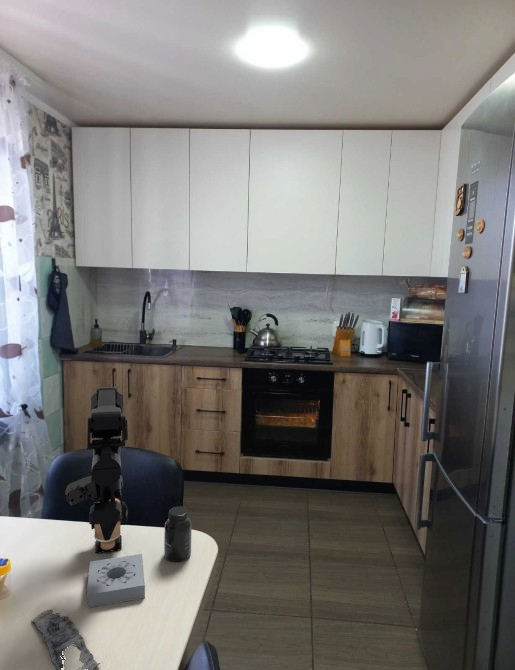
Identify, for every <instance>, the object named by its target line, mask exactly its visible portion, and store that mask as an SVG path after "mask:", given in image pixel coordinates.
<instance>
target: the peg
mask: <svg viewBox="0 0 515 670" xmlns="http://www.w3.org/2000/svg"><path fill="white" fill-rule="evenodd" d="M110 500H111V499H110ZM110 500H109V501H110ZM115 501H118V502H119V503H120V500H118V499H116V498H115ZM103 502H104V500H103ZM96 503H98V501H97V502H96ZM121 532H122V531H121V525H120V521H119V522H117V524H116V527H115V529H114V531H113V533H112V536H111V538H110V540H107V541H105V540H104V537H103V534H102V531H101V527H100V524H96V525H95V529H94V539H95V541H96V540H97V541H100V542H101V548H102V549H105V550H107V549H111V548H113V547H114V546H115V539H117V538H118V537H119V536H120V535H121V534H122V533H121Z"/></svg>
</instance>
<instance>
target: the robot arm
mask: <svg viewBox="0 0 515 670" xmlns="http://www.w3.org/2000/svg"><path fill="white" fill-rule="evenodd" d="M124 404H125V403H124V395H123V394H122V393H120V392H119V391H118V388H117V387H115V386H107V387H106V386H104V387H99V388H96V392H95V394H92V396H91V397H90V417H89V416H87V435H86V436H87V441H86V442H87V444H86V445H87V447H86V450H92V463H91V464H92V465H91V471H90V472H91V473H90V474H91V475H89V476H84V477H83V478H80V479H78V480H76V481H73V482H70V483H69V484H68V485H66V489H65V492H64V493H65V496H66V498H65V499H66V500H65V501H66V502H67V503H69V504H70V506H75V505H77V504H78V503H80V502H83V501H85V500H87V499H89V498H90V501H93V505H90V508H89V515H88V523H89V525H90V527H91V530H95V525H96V524H100V527H101V531H102V534H103V537H104V540H105V541H107V540H110V538H111V536H112V533H113V531H114V529H115V527H116V524H117V522H119V521H120V526H125V525H126V523H127V522H128V521H129V519H128V517H129V513H128V512H129V507H128V506H127V504H126V502H125V501H123V490H122V489H123V485H124V484H123V480H124V479H123V476H122V461H121V447H126V441H128V440H129V436H128V435H129V434H128V419H127V418H126V416H125V415H124V411H125V409H124ZM121 436H122V437H121ZM121 438H122V439H121ZM115 498H116V499H118V500H120V503H119V502H118V501H115ZM110 499H111V500H110ZM103 500H104V502H103ZM109 500H110V501H109ZM97 501H98V503H96V502H97ZM122 538H123V537H122V535H121V534H120V536H119V537H118V538H117V539H115V546H114V547H113V548H111V549H107V550H105V549H102V548H101V542H100V541H97V540H96V539H95V548H94V549H95V550H94V552H95V554H100V553H107V552H115V551H121V550H122V549H123V548H122V547H123V545H122V544H123V543H122Z"/></svg>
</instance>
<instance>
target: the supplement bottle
mask: <svg viewBox="0 0 515 670" xmlns="http://www.w3.org/2000/svg"><path fill="white" fill-rule="evenodd" d="M192 525H193V524H192V521H191V519H190V518H189V510H188V508H186V507H184V506H173V507H171V508H170V509H169V511H168V519H167V520H166V521H165V523H164V532H163V533H164V534H163V535H164V540H163V541H164V543H163V544H164V545H163V546H164V547H163V548H164V549H163V553H164V555H163V556H164V557H165V559H166V560H167V561H169V562H171V563H180V562H184V561H186V560H187V559H189V558H190V556H191V553H192Z"/></svg>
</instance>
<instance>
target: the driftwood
mask: <svg viewBox="0 0 515 670" xmlns="http://www.w3.org/2000/svg"><path fill="white" fill-rule="evenodd" d="M31 622H32V623H33V622H34V623H35V625H36V628H37V629H38V630H39V631H40V632H41V633H42V635H43V637H42V641H44V642H45V643H46V645H47V646H48V651H49V655H50V657H51V660H52V662H53V664H55V666H56V670H61V668H63V664H62V660H65V659H64V657H63V656H64V655H65V654H64V655H62V651H64V652H66V651H65V649H66V650H67V649H68V648H69V646H70V647H71V646H72V647H73V648H76V649H77V650H79V651H80V654H79V658H78V662H80V661H81V662H80V663H82V664H83V665H82V668H81V667H78V668H79V669H80V668H81V669H84V670H87V669H88V670H94V669H95V667H96V666H99V665H101V664H102V663H101V662H97V661H96V660H95V659H94V655H93V654H92V652H91V651H90V649H88V647H87V646H86V643H85V639H84V637H83V636H82V634H80V631H79V629H77V627H76V626H75V623H74V622H73V621H72V619H71V618H70V617H69V616H67V615H63V616H61V612H54V609H53V608H52V609H46V610H44V611H42V612H41V613H40V614H38V615H37V616H36V617H34V618H33V619H32V620H31ZM67 647H68V648H67ZM60 656H61V657H62V658H63V659H61V657H60ZM65 661H66V660H65Z"/></svg>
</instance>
